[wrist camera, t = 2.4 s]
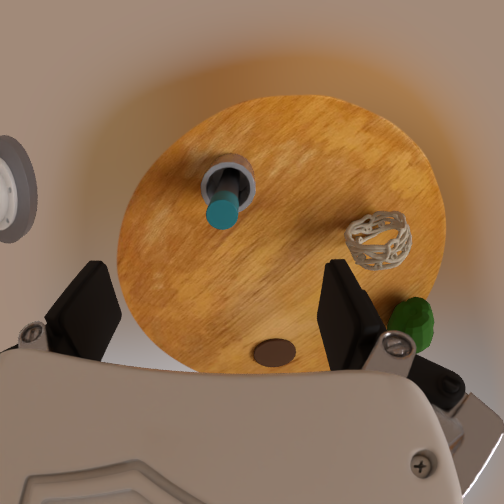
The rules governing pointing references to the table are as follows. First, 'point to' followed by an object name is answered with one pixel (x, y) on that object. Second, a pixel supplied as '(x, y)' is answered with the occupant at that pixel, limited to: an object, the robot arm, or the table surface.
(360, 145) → the table surface
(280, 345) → the coaster
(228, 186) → the marker
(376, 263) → the bracelet
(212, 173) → the pot
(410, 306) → the bell pepper
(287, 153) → the table surface
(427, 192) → the table surface
